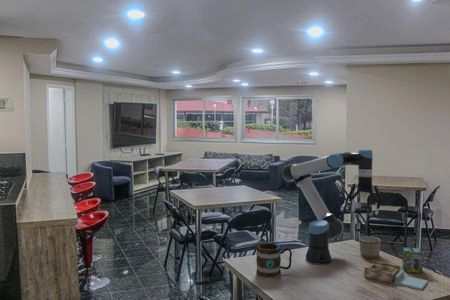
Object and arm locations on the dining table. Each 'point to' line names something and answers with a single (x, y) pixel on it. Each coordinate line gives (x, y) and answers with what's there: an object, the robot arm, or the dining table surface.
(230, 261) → the dining table surface
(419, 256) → the chalk box
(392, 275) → the oak case
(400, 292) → the dining table surface
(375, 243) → the planter
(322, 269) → the dining table surface
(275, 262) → the mug
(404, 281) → the cover plate
